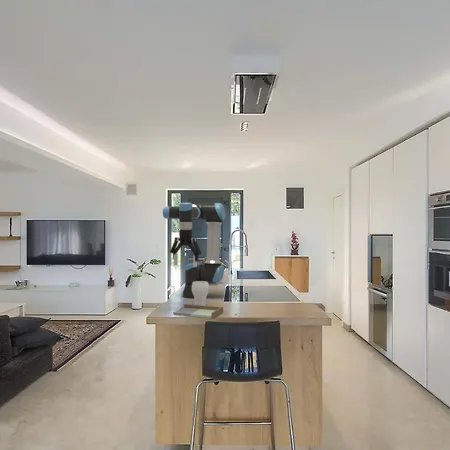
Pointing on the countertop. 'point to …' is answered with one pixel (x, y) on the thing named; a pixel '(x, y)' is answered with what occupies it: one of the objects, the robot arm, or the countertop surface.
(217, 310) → the rail board
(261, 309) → the countertop surface
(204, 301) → the cup
